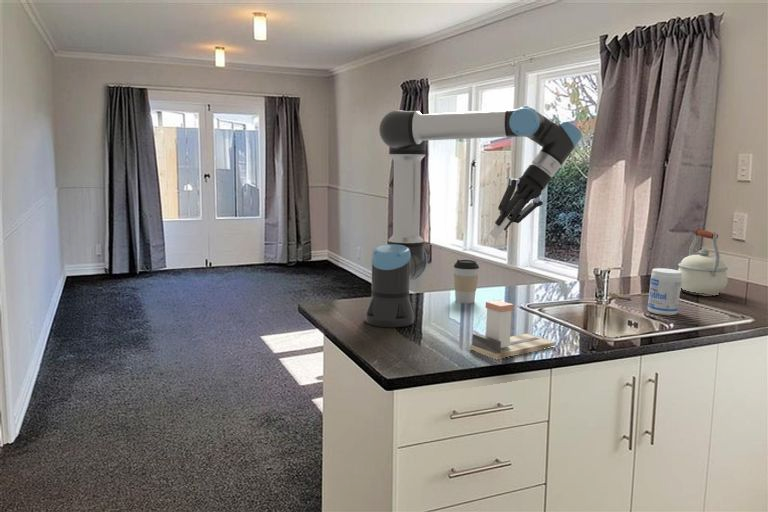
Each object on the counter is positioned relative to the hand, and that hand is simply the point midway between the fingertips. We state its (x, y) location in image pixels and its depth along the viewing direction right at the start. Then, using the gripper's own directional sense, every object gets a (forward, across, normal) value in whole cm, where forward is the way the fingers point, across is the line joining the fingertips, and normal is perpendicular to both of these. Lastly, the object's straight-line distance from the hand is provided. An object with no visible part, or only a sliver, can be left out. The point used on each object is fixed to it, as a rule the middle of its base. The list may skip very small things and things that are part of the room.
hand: (493, 236), depth 187 cm
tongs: (-11, +76, +29) cm, 82 cm away
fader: (+24, +7, -24) cm, 35 cm away
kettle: (-33, +108, +31) cm, 117 cm away
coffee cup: (+23, +25, +32) cm, 47 cm away
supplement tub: (-14, +74, +4) cm, 75 cm away
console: (+22, +13, -23) cm, 34 cm away
